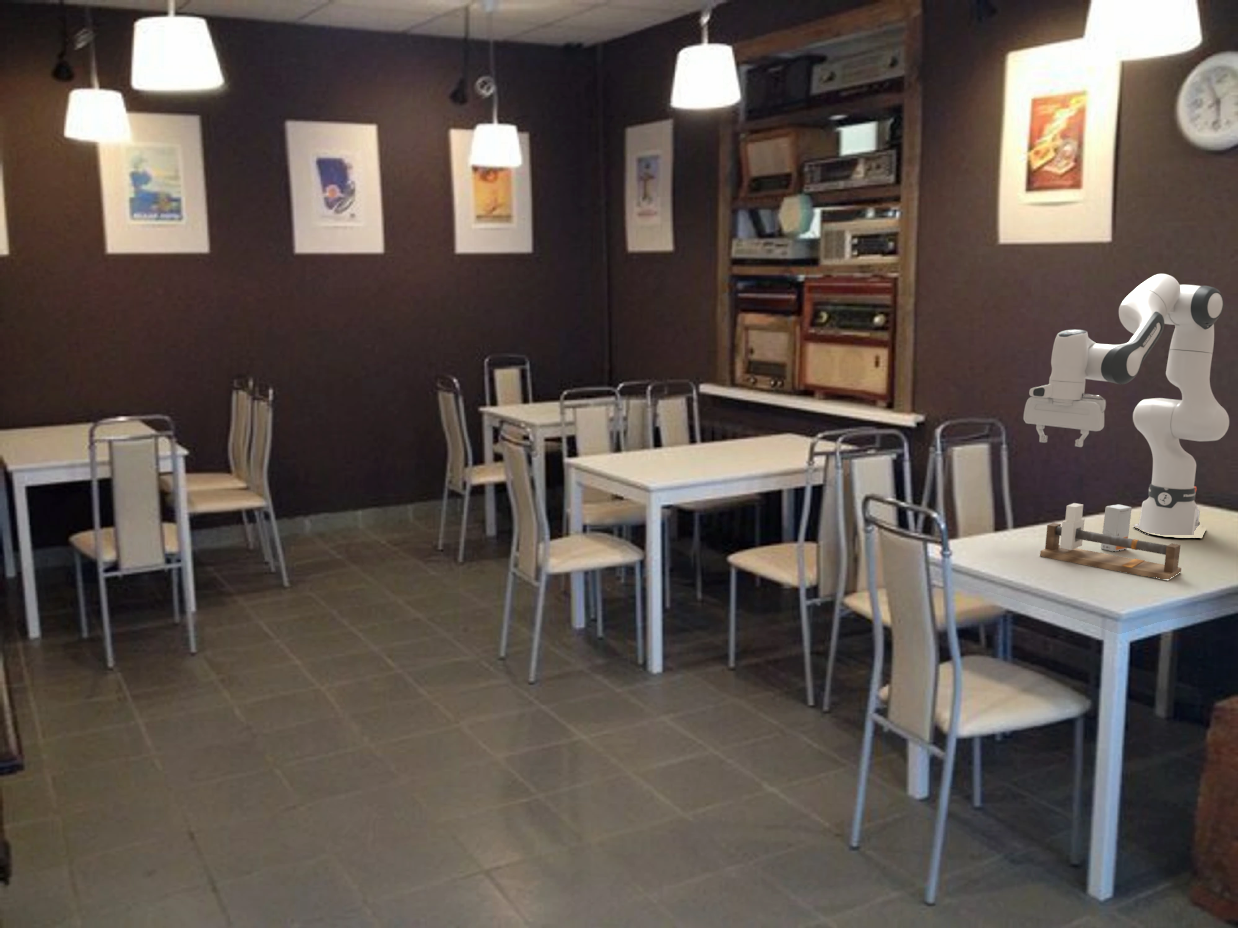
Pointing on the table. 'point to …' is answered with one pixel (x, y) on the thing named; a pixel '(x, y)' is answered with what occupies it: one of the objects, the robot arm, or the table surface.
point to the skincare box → (1116, 524)
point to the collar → (1072, 527)
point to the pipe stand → (1113, 561)
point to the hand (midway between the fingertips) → (1060, 444)
